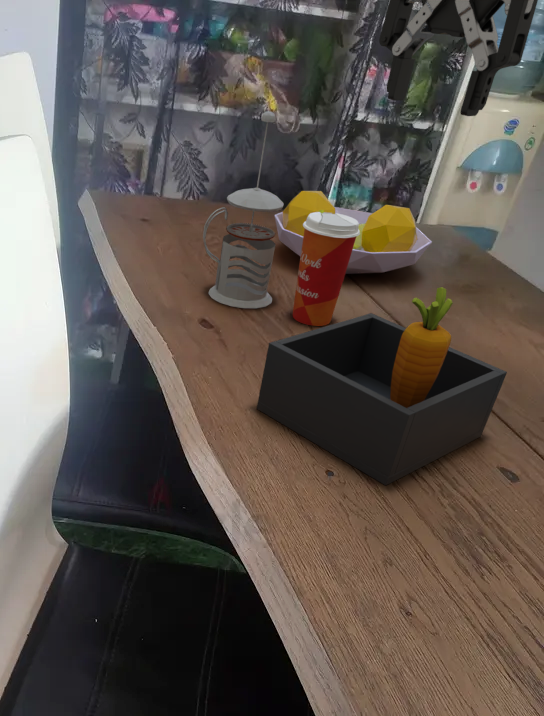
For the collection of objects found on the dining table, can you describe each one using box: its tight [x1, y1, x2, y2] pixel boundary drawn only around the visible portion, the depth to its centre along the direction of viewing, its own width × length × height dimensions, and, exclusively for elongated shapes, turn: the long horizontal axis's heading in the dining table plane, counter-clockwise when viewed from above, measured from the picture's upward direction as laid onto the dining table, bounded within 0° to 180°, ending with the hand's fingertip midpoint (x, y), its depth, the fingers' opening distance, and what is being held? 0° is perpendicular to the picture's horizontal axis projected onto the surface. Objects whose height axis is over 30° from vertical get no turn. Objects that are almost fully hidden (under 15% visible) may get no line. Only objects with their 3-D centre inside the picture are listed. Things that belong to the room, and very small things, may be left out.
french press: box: [202, 110, 284, 309], centre depth 104 cm, size 10×12×25 cm
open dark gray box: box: [256, 312, 508, 486], centre depth 81 cm, size 18×18×8 cm
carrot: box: [390, 286, 454, 408], centre depth 77 cm, size 5×5×15 cm
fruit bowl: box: [274, 190, 433, 275], centre depth 126 cm, size 28×27×11 cm
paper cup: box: [292, 212, 360, 327], centre depth 103 cm, size 8×8×14 cm
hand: (430, 107), depth 74 cm, fingers open, 8 cm apart
